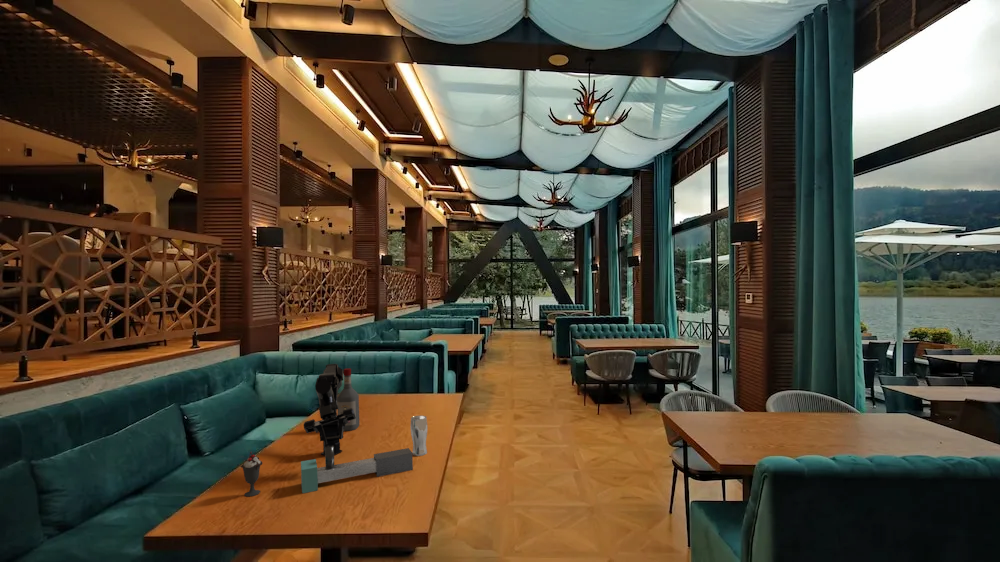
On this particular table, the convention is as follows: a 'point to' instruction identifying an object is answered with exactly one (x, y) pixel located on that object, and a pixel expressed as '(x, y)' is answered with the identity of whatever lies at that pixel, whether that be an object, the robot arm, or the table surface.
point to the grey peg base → (343, 467)
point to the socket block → (309, 476)
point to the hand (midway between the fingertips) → (333, 441)
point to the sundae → (251, 473)
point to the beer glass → (419, 435)
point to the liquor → (349, 401)
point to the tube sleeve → (393, 462)
